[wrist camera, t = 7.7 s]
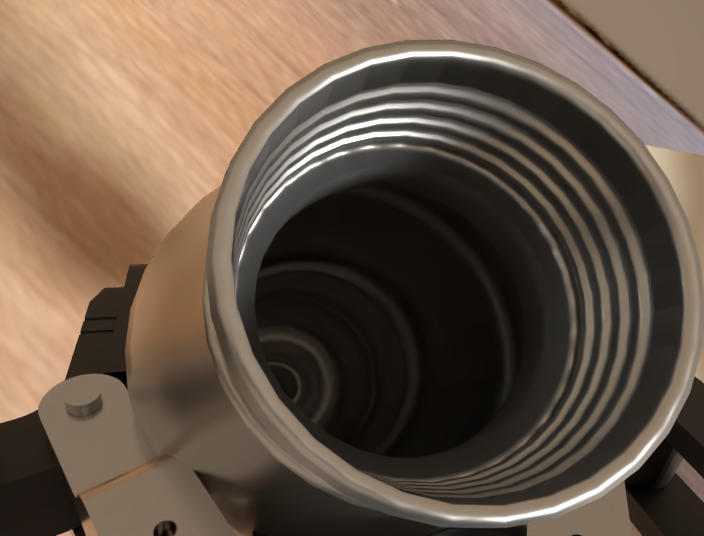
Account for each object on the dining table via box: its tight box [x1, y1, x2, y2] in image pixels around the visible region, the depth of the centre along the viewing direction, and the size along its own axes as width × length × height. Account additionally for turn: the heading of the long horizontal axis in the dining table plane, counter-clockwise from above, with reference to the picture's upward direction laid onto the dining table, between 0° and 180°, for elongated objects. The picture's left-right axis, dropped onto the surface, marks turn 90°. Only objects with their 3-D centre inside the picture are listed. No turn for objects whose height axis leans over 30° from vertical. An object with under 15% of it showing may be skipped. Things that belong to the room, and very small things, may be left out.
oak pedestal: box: [645, 145, 704, 383], centre depth 32 cm, size 17×16×5 cm
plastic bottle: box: [125, 40, 704, 536], centre depth 14 cm, size 6×7×20 cm
